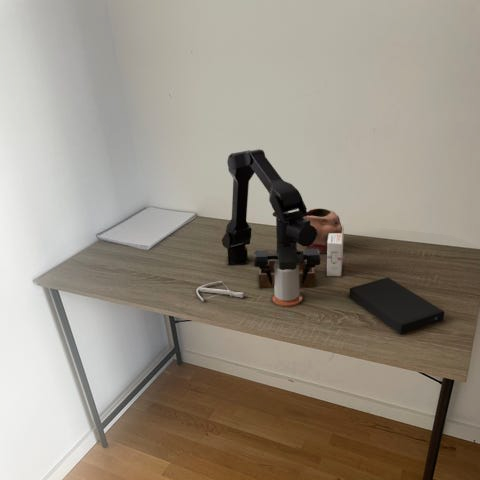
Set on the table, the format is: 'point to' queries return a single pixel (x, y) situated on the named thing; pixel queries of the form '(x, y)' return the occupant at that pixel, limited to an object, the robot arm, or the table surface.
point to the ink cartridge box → (335, 253)
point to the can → (286, 283)
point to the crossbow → (217, 291)
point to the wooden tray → (265, 281)
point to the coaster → (287, 303)
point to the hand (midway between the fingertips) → (287, 283)
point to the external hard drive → (396, 305)
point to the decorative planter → (323, 227)
